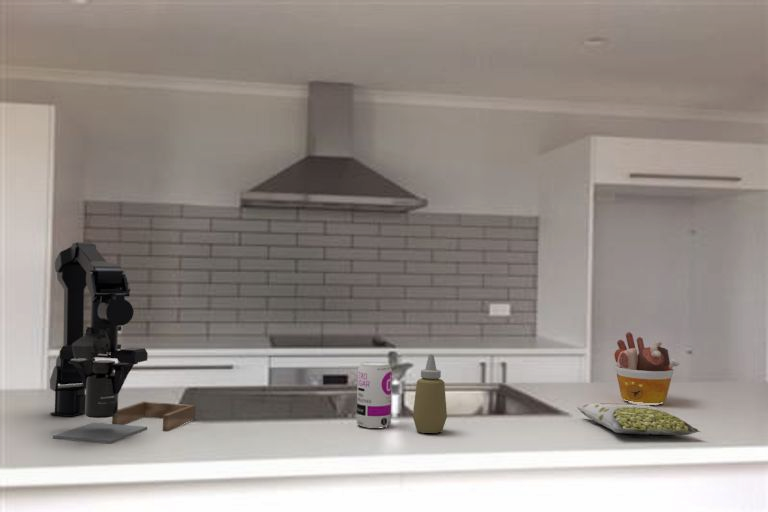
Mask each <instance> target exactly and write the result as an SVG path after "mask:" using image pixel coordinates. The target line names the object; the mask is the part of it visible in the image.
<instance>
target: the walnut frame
mask: <svg viewBox="0 0 768 512" xmlns="http://www.w3.org/2000/svg"><path fill="white" fill-rule="evenodd" d="M142 417H143V418H152V417H155V419H162V431H163V432H168V431H171V430H174V429H177V428H178V426H179V427H180V425H181V426H183V425H182V424H184V423H186V422H188V421H191V420H193V421H195V420H196V405H195V404H182V403H181V404H180V403H169V402H154V401H141V402H138V403H134V404H132V405H128V406H125V407H121V408H118V412H117V415H115V416H113V417H111V418H112V420H111V424H119V425H127V424H128V423H131V421H132V422H134V420H135V421H137V419H138V420H140V419H142ZM139 418H140V419H139ZM191 422H192V421H191ZM188 423H189V422H188ZM186 424H187V423H186ZM184 425H185V424H184Z"/></svg>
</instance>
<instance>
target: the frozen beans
mask: <svg viewBox="0 0 768 512" xmlns="http://www.w3.org/2000/svg"><path fill="white" fill-rule="evenodd" d="M576 408H577V409H578V410H579V412H581V414H583V415H584V416H585V417H587V418H589V419H591V420H592V421H594V422H595V423H598V424H600V425H602V426H604V427H606V428H607V429H609V430H611V431H612V432H614V433H617V434H628V435H629V434H630V435H632V434H633V435H649V434H652V435H653V436H654V435H656V436H658V435H660V436H664V435H665V436H687V435H692V434H695V433H701V430H698V428H695V427H693V426H692V425H691V424H689V423H688V422H686V421H684V420H683V419H681V418H680V417H677V416H675V415H673V414H670V413H668V412H666V411H664V410H662V409H659V408H656V407H655V406H648V405H637V404H630V403H614V402H613V403H610V402H609V403H608V402H607V403H601V402H600V403H590V404H585V405H582V406H579V405H578V406H577V407H576Z"/></svg>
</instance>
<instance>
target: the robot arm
mask: <svg viewBox="0 0 768 512" xmlns="http://www.w3.org/2000/svg"><path fill="white" fill-rule="evenodd" d="M54 269H55V273H56V276H57V277H56V278H57V281H58V282H59V283H60V285H61V286H62V289H63V294H64V295H63V343H62V344H63V345H62V347H61V348H60V350H59V354H58V355H57V357H56V359H55V366H54V368H53V369H52V374H51V376H50V379H49V389H50V390H52V391H53V392H54V397H55V398H54V411H51V412H50V413H49V415H51V416H61V417H62V416H63V417H75V416H79V415H82V414H85V399H86V380H87V376H88V375H89V374H90V373H92V372H93V370H92V369H91V368H92V361H96V358H102V359H103V358H104V359H117V362H115V363H114V364H112V366H113V368H114V372H115V379H114V392H115V394H118V393H119V394H120V392H121V390H122V388H123V385H124V384H125V381H126V380H127V377H128V375H129V374H130V372H131V370H132V369H133V367H134V365H138V364H139V363H142V362H145V361H146V362H147V361H148V358H149V357H148V351H147V350H146V348H145V347H134V346H133V347H126V348H122V344H121V343H120V344H119V343H118V341H119V340H118V337H119V332H121V331H122V326H125V325H128V324H129V323H130V322H131V320H132V318H133V317H134V308H133V305H132V304H131V302H130V301H128V300H126V299H125V298H127V297H128V298H129V297H130V296H131V294H130V292H131V287H130V284H129V280H128V277H127V276H126V273H125V271H124V270H123V268H122V267H121V265H119V264H117V263H114V262H113V263H112V262H108V261H107V260H106V259H105V258H104V257H103V255H102V254H101V253H100V251H99V250H98V249H97V245H96V244H95V243H93V242H82V241H81V242H79V241H76V242H75V243H72V244H71V246H70V247H67V248H66V249H64V250H61V251H60V252H59V253H58V255H57V257H56V258H55V262H54ZM86 287H87V289H88V293H89V295H90V296H91V297H90V300H91V303H90V308H91V309H90V310H91V311H90V326H86V329H84V326H85V324H84V323H85V322H84V321H85V316H84V314H85V309H84V308H85V289H86ZM84 330H85V335H84ZM119 394H118V395H119Z"/></svg>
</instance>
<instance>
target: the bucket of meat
mask: <svg viewBox="0 0 768 512" xmlns="http://www.w3.org/2000/svg"><path fill="white" fill-rule="evenodd" d="M625 338H626V343H627V345H626V343H625V341H624V340H622V339H619V340H618V341H616V342H617V343H616V344H617V346H618V349H617V350H615V352H614V354H613V355H614V360H615V362H616V365H614V369H615V372H616V378H617V383H618V387H619V393H620V397H621V398H622V400H623V399H625V400H628V401H633V402H643V403H661V402H664V403H665V402H666V400H667V396H668V393H669V389H670V386H671V381H672V377H673V375H674V369H673V368H674V367H678V366H679V365H680V362H679V361H678V360H676V359H674V358H672V359H670V355H669V350H668V349H667V348H665V347H662V342H661V341H660V340H658V341H655V342H654V343H653V344H652V343H651V345H649V347H645V344H644V340H643V339H644V338H642V337H641V336H639V337H637V339H636V344H637V348H638V349H637V348H636V344H635V340H634V336H633V334H632V333H631V332H626V334H625ZM627 346H628V348H627Z"/></svg>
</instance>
